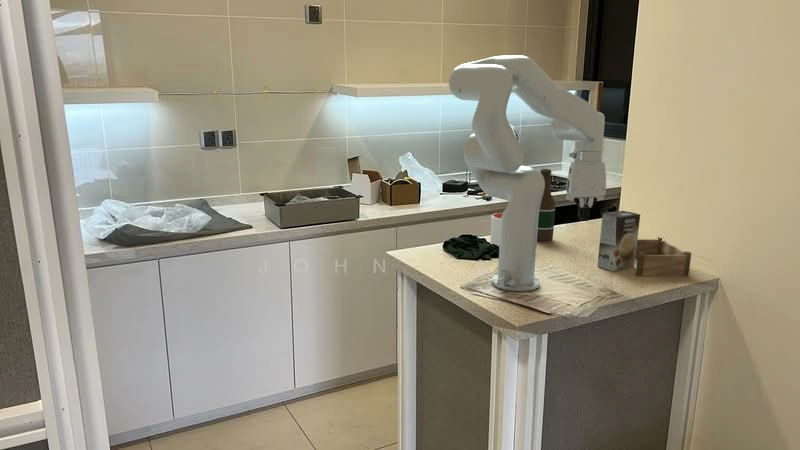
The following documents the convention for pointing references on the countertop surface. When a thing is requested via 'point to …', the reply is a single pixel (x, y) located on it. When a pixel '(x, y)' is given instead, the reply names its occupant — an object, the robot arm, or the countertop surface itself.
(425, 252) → the countertop surface
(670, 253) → the crate
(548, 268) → the countertop surface
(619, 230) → the coffee box
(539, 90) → the robot arm
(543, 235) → the beer bottle
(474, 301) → the countertop surface
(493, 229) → the cup
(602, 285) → the countertop surface
